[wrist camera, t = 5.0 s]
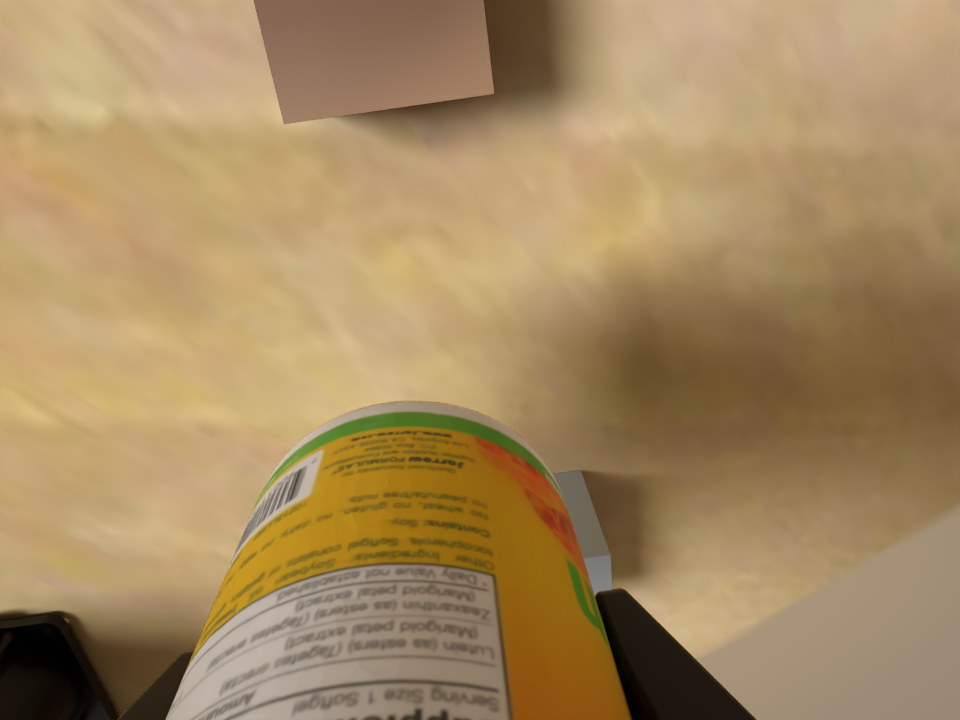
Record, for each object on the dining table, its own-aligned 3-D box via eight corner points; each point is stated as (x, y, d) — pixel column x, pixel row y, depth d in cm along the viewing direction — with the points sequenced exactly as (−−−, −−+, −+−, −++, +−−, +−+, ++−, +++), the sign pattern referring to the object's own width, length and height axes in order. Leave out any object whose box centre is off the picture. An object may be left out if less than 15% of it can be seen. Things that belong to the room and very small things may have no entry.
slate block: (587, 564, 25) (616, 661, 21) (473, 579, 25) (480, 680, 21) (580, 468, 23) (610, 554, 19) (457, 486, 23) (460, 575, 19)
